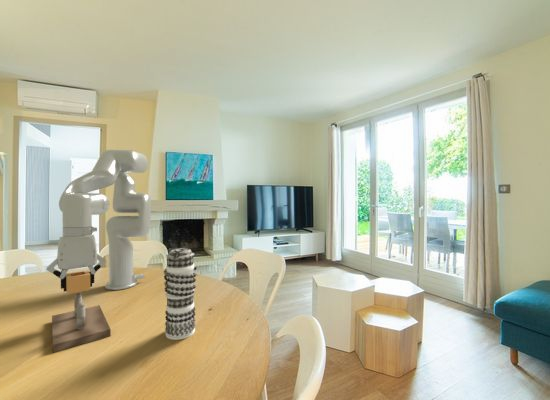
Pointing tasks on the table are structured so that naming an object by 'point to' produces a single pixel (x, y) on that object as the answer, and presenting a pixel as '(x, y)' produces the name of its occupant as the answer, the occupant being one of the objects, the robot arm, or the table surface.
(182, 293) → the decorative candle
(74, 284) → the collar
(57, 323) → the post board
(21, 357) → the table surface
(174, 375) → the table surface
